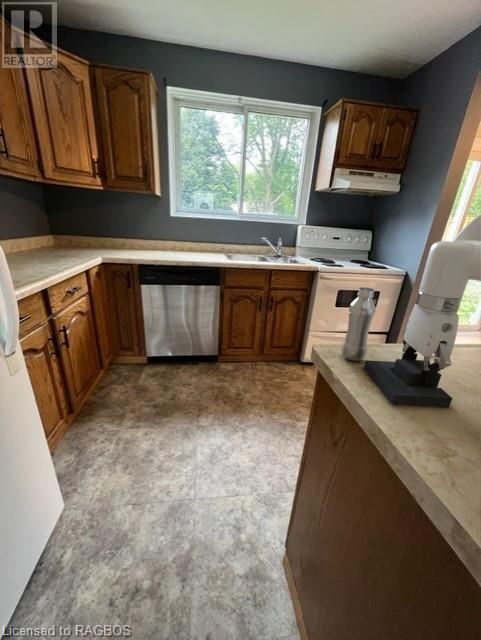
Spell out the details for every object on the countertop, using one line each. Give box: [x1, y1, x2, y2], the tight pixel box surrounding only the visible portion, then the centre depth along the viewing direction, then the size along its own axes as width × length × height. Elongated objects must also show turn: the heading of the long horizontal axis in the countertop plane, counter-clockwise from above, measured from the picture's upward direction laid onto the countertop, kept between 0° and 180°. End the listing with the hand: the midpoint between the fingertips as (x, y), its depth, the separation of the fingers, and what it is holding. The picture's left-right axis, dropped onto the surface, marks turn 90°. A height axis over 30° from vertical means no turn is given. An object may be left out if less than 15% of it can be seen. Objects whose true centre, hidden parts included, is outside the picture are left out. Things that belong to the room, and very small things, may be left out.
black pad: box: [393, 358, 442, 388], centre depth 63 cm, size 7×7×4 cm
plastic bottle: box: [341, 287, 377, 362], centre depth 73 cm, size 6×7×20 cm
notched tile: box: [363, 359, 453, 409], centre depth 64 cm, size 12×15×2 cm
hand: (414, 375), depth 63 cm, fingers closed on black pad, 6 cm apart
